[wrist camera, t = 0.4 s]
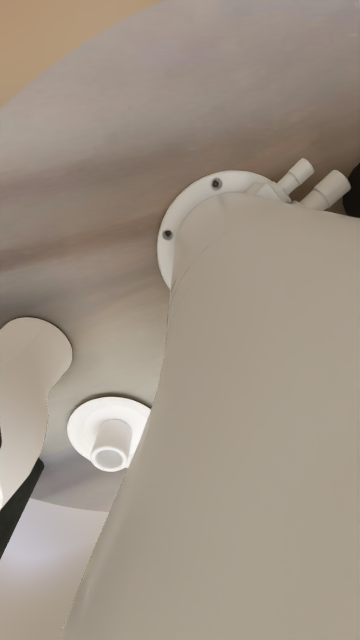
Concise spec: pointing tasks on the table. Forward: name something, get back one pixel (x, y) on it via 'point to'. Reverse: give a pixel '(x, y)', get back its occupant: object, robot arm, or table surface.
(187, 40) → the table surface
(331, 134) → the table surface
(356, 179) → the cup
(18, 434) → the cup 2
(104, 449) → the candle holder
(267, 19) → the table surface
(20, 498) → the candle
